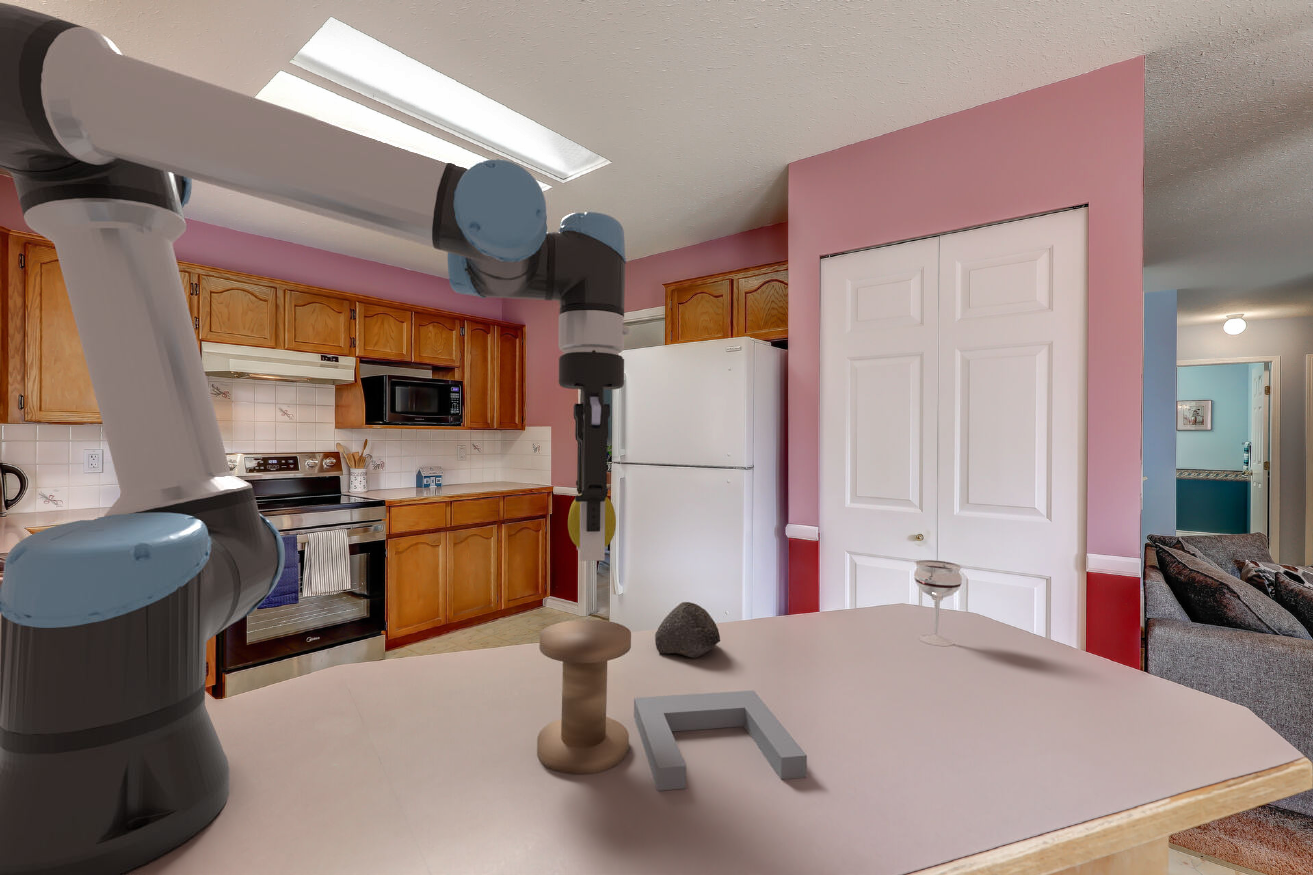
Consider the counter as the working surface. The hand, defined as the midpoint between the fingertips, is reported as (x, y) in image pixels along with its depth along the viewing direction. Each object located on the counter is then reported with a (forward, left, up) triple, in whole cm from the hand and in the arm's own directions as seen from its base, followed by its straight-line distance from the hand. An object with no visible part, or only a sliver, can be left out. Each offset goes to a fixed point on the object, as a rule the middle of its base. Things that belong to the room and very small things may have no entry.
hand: (590, 553), depth 68 cm
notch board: (+12, -11, -17) cm, 24 cm away
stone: (+16, +15, -18) cm, 29 cm away
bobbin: (-1, -10, -17) cm, 20 cm away
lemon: (0, 0, -1) cm, 1 cm away
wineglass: (+56, +14, -18) cm, 60 cm away
